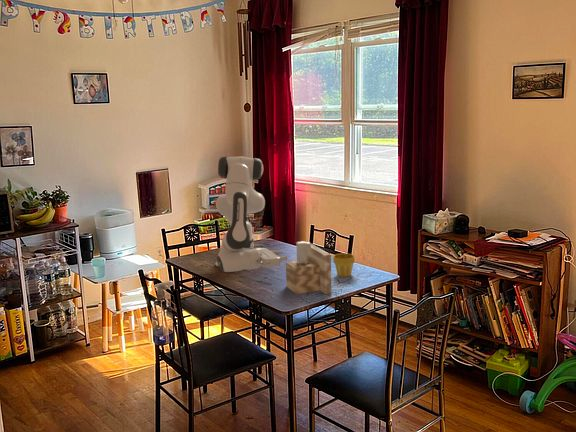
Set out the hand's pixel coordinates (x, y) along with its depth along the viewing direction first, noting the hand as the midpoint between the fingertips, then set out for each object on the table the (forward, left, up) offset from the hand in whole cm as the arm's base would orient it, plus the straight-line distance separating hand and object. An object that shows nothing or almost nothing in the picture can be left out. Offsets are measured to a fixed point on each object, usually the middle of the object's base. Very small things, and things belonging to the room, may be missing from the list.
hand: (283, 255), depth 261 cm
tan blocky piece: (+8, +8, -17) cm, 20 cm away
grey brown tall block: (+6, +7, -9) cm, 13 cm away
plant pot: (+18, +33, -17) cm, 41 cm away
